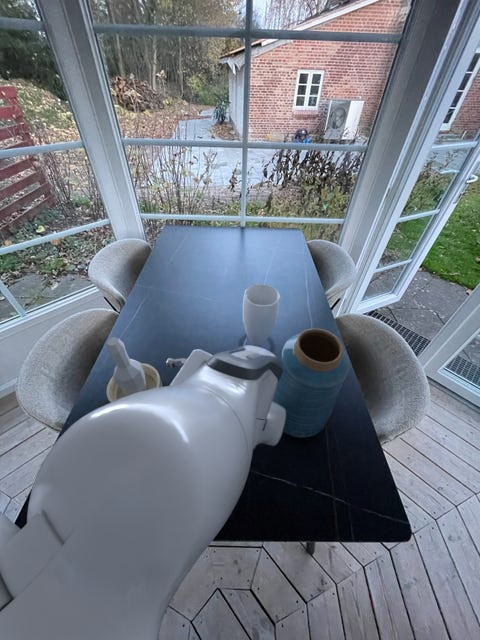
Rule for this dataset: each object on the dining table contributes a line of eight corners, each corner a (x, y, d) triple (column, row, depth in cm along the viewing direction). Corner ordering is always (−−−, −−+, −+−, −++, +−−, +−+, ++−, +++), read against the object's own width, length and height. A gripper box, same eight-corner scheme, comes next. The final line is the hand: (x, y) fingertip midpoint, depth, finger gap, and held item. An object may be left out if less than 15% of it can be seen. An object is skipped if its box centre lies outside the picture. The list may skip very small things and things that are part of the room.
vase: (338, 433, 66) (380, 374, 47) (275, 445, 64) (293, 388, 45) (313, 377, 78) (340, 311, 59) (259, 386, 75) (268, 320, 56)
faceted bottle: (153, 383, 74) (132, 331, 58) (146, 405, 70) (121, 354, 54) (131, 381, 74) (104, 329, 59) (122, 402, 70) (91, 351, 54)
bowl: (144, 426, 67) (138, 416, 63) (102, 407, 70) (94, 396, 66) (172, 383, 75) (169, 372, 71) (134, 368, 79) (129, 357, 75)
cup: (240, 358, 82) (242, 307, 66) (240, 333, 89) (242, 282, 74) (274, 358, 82) (284, 307, 67) (271, 333, 89) (279, 282, 74)
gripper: (230, 354, 61) (178, 336, 65) (184, 438, 48) (122, 410, 51) (230, 369, 66) (181, 352, 69) (188, 450, 52) (131, 423, 56)
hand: (156, 377), depth 60 cm, fingers open, 8 cm apart
